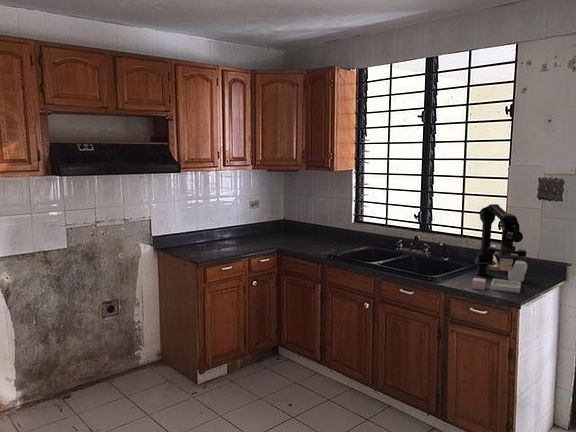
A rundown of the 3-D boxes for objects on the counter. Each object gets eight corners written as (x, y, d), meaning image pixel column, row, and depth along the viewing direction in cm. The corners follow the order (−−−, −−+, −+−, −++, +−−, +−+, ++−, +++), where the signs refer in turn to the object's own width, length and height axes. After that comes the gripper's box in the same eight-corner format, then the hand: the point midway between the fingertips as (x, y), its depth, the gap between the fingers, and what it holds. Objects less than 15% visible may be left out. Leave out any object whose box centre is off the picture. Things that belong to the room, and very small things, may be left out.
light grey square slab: (492, 282, 266) (493, 278, 266) (520, 286, 260) (520, 281, 259) (490, 289, 254) (490, 284, 253) (519, 293, 247) (520, 288, 247)
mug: (514, 282, 267) (515, 264, 266) (504, 278, 276) (505, 260, 275) (531, 281, 270) (532, 263, 268) (520, 277, 278) (522, 259, 277)
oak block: (499, 267, 260) (500, 258, 259) (512, 268, 257) (512, 259, 256) (499, 270, 254) (499, 260, 254) (511, 271, 251) (512, 262, 251)
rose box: (473, 285, 261) (473, 277, 261) (485, 287, 259) (485, 279, 258) (472, 288, 256) (472, 280, 255) (484, 290, 253) (484, 281, 253)
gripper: (487, 239, 251) (485, 268, 253) (526, 243, 242) (524, 273, 244) (489, 236, 260) (487, 264, 262) (527, 239, 252) (525, 268, 254)
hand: (505, 267), depth 255 cm, fingers closed on oak block, 6 cm apart
